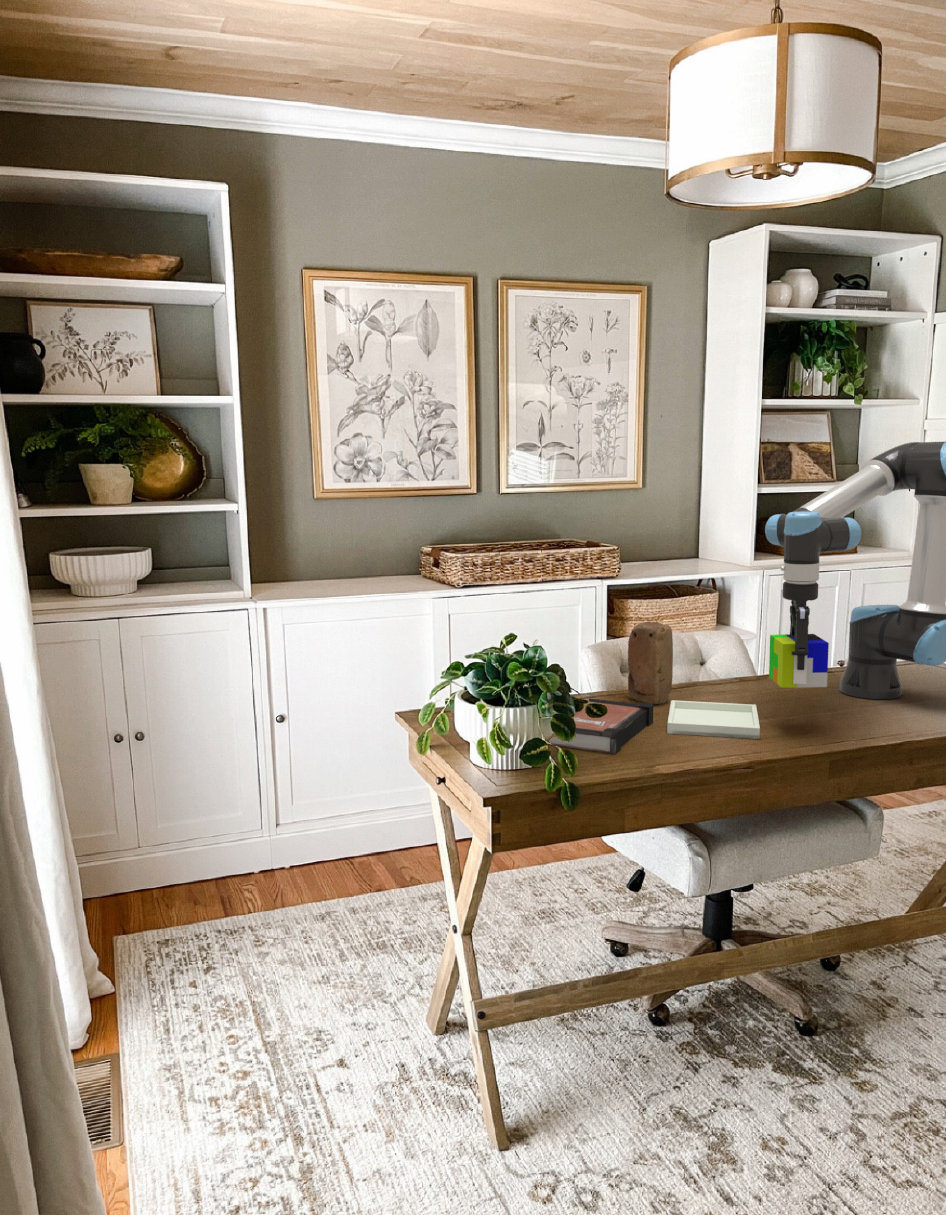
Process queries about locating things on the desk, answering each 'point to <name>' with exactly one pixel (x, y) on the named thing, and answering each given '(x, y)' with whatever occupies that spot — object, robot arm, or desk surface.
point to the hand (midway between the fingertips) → (797, 677)
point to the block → (650, 662)
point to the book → (609, 726)
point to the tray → (713, 719)
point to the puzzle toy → (784, 661)
